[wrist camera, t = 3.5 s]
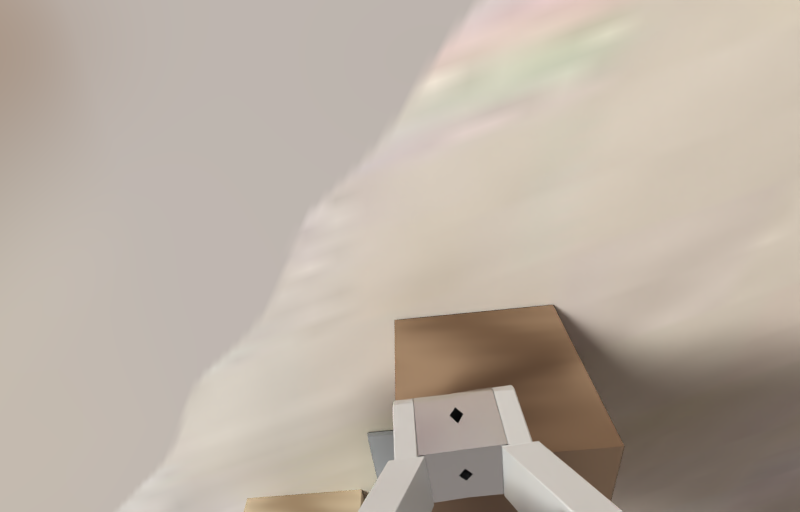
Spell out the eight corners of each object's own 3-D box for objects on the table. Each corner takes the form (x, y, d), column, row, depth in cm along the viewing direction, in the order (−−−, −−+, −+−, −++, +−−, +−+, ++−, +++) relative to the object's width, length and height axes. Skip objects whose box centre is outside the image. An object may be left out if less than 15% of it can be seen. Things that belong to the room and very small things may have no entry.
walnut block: (552, 304, 17) (624, 445, 12) (543, 410, 20) (596, 559, 15) (394, 319, 17) (396, 465, 12) (409, 421, 20) (416, 572, 15)
